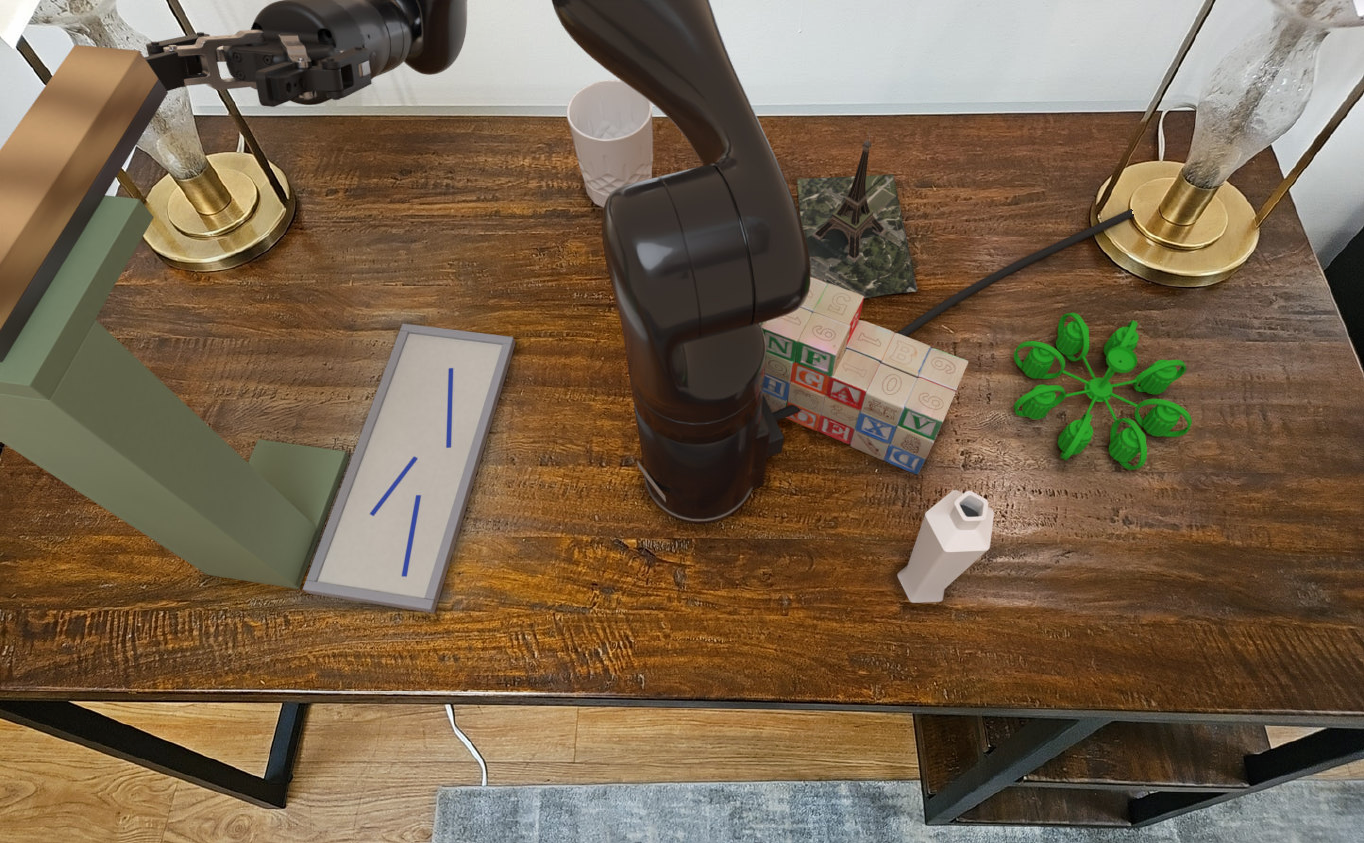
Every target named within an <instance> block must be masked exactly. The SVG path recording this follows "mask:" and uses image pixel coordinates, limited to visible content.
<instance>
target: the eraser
mask: <svg viewBox="0 0 1364 843" xmlns="http://www.w3.org/2000/svg"><path fill="white" fill-rule="evenodd" d="M144 57H145V56H144V55H143V54H142V52H141V51H140V50H138V49H137V50H136V49H127V48H126V49H125V48H116V47H103V46H94V45H82V44H75V45H74V46H73V47H72V48H71V49H70V51H69V53H68V54H67V55H66V56H65V58H64V60H63V61H62V62H61V64H59V67H58V68H57V69H56V71H55V72H54V74H53V75H52V77H51V78H50V79H49V81H48V82H47V83H46V85H44V87H43V89H42V91H41V92H40V93H39V94H38V95H37V97H36V99H35V100H34V102H33V103H32V104H31V106H30V107H29V108H28V110H27V111H26V113H25V114H24V115H23V117H22V119H21V120H20V121H19V123H18V124H17V126H15V128H14V130H12V132H11V134H10V135H9V137H8V138H7V140H6V141H5V142H4V144H3V145H2V147H1V148H0V362H2V361H3V360H4V358H5V356H6V355H7V353H8V352H9V350H10V348H11V347H12V345H13V343H14V342H15V340H16V339H17V337H18V335H19V334H20V332H21V330H22V329H23V327H24V326H25V324H26V322H27V321H28V319H29V317H30V316H31V314H32V313H33V311H34V309H35V308H36V306H37V305H38V303H39V301H40V300H41V298H42V296H43V295H44V293H45V292H46V290H47V288H48V287H49V285H50V283H51V282H52V280H53V279H54V277H55V275H56V274H57V272H58V270H59V269H60V267H61V266H62V264H63V262H64V261H65V259H66V257H67V256H68V254H69V253H70V251H71V249H72V248H73V246H74V244H75V243H76V241H77V240H78V238H79V236H80V235H81V233H82V232H83V230H84V228H85V227H86V225H87V223H88V222H89V220H90V219H91V217H92V215H93V214H94V212H95V210H96V209H97V207H98V206H99V204H100V202H101V201H102V199H103V197H104V196H105V195H107V192H108V191H109V190H110V188H111V186H112V184H113V183H114V181H115V180H116V178H117V176H118V175H119V173H120V172H121V170H122V168H123V166H124V165H125V163H126V162H127V160H128V159H129V157H130V155H131V154H132V152H133V150H134V149H135V147H136V146H137V145H138V142H139V141H140V139H141V138H142V136H143V135H144V133H145V131H146V129H147V128H148V127H149V124H150V123H151V122H152V119H153V118H154V116H155V115H156V113H157V112H158V110H159V108H160V107H161V105H162V104H163V102H164V100H165V99H166V97H167V95H168V94H169V93H168V92H169V91H167V90H166V89H165V87H164V86H163V84H162V83H161V81H160V80H159V79H158V77H157V76H156V74H155V73H154V71H153V70H152V68H151V67H150V65H149V64H148V63H147V61H146V60H145V58H144Z"/></svg>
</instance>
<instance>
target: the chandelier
mask: <svg viewBox="0 0 1364 843" xmlns="http://www.w3.org/2000/svg"><path fill="white" fill-rule="evenodd" d="M1069 317H1071V318H1072V319H1073V320H1072V321H1070V322H1069V323H1068V324H1067V325H1065V323H1066V321H1067V319H1068V318H1069ZM1138 324H1139V322H1138V321H1135V320H1133V319H1131V320H1129V323H1128V324H1127V325H1126V326H1121V327H1119V328H1118V329H1117V330H1115V331H1114V332H1113V333H1112V334H1111V335H1110V337H1109V338H1108V340H1107V341H1106V343H1105V344H1104V346H1103V353H1104V355H1105V362H1106V363H1105V364H1106V365H1107V366H1108V367H1107V370H1106V371H1105V373H1104V376H1103V377H1096V375H1095V373H1094V371H1093V369H1092V368H1091V366H1090V363H1089V361H1088V359H1087V358H1086V357H1087V356H1088V353H1089V350H1090V335H1089V334H1090V328H1089V326H1088V325H1087V324H1086V323H1085V321H1084V319H1083V318H1082V316H1080V315H1079V314H1078V313H1076V312H1067V313H1064V314H1063V315H1062V316H1060V318H1059V321H1058V323H1057V339H1056V341H1055V347H1056V348H1057V349H1056V348H1055V347H1054V346H1051V345H1050V344H1048V343H1045V342H1042V341H1038V340H1028V341H1027V340H1026V341H1024V342H1021V343H1019V344H1018V346H1017V347H1016V349H1015V350H1014V353H1013V359H1014V362H1015V364H1016V366H1017V367H1018V368H1019V369H1020V370H1021V371H1023V373H1024V374H1025V375H1026V377H1029V378H1030V379H1036V380H1037V379H1042V380H1053V379H1056V378H1058V377H1060V376H1061V375H1062V374H1064V375H1065V376H1068V377H1070V378H1072V379H1075V380H1076V381H1079V382H1081V383H1083V384H1084V390H1080V391H1075V392H1070V393H1066V391H1065V389H1064V387H1063V386H1062V385H1058V384H1051V385H1047V384H1038V385H1036V386H1034V387H1033V388H1032V389H1031V390H1030V391H1029V392H1027V393H1025V394H1024V395H1022V396H1021V397H1019V398H1018V399H1017V400H1016V401H1015V402H1014V404H1013V410H1014V413H1015V415H1016V416H1018V417H1022V418H1026V417H1027V418H1028V419H1030V420H1041V419H1043V418H1046V416H1048V414H1049V412H1050V411H1051V410H1052V409H1054V408H1056V407H1058V406H1059V405H1060V404H1061V403H1062V402H1063V401H1064V400H1065V399H1066V398H1069V397H1075V396H1079V395H1083V394H1086V395H1087V397H1088V398H1089V399H1091V402H1090V403H1089V405H1088V408H1087V410H1086V412H1084V414H1083V415H1082V416H1081V418H1080V419H1075V420H1073V421H1072V422H1070V423H1068V424H1067V426H1066V427H1064V429H1063V430H1062V432H1060V434H1059V435H1058V436H1057V438H1058V439H1057V445H1058V448H1059V449H1060V450H1061V453H1060V456H1059V458H1060V459H1062V460H1063V461H1068V460H1069V459H1070V458H1071V456H1074V455H1078V454H1081V453H1082V452H1083V450H1084V449H1085V448H1086V447H1087V446H1088V445H1089V443H1091V441H1092V438H1093V435H1094V429H1093V428H1094V427H1093V426H1092V425H1091V421H1092V419H1093V414H1091V411H1092V409H1093V407H1094V405H1095V403H1096V402H1098V403H1104V404H1105V405H1106V408H1107V410H1108V411H1109V413H1110V415H1111V417H1112V419H1113V421H1114V422H1113V423H1112V424H1111V427H1110V431H1109V440H1110V442H1109V445H1108V453H1109V455H1110V457H1111V458H1113V459H1114V460H1115V461H1117V462H1118V463H1119V464H1120V465H1121V466H1122V468H1124V469H1127V470H1130V471H1133V470H1139V469H1140V468H1142V467H1144V465H1145V464H1146V461H1147V458H1148V446H1147V436H1146V434H1145V433H1144V431H1145V432H1146V433H1147V434H1149V435H1151V436H1153V437H1166V438H1178V437H1181V436H1184V435H1186V434H1187V433H1188V432H1189V431H1190V430H1191V427H1192V424H1193V419H1192V417H1191V414H1190V412H1188V411H1187V409H1185V408H1183V406H1181V405H1179V404H1177V403H1175V402H1173V401H1170V400H1167V399H1162V398H1148V399H1144V400H1142V401H1141V402H1139V403H1138V404H1137V403H1135V402H1133V401H1132V400H1131V401H1130V400H1128V399H1126V398H1124V397H1122V396H1120V395H1118V394H1116V393H1113V388H1117V387H1121V386H1127V385H1131V384H1132V387H1133V388H1134V390H1135V391H1136V392H1138V393H1147V394H1149V395H1154V396H1156V395H1160V394H1162V393H1164V392H1165V391H1166V389H1168V387H1169V386H1171V384H1172V383H1174V382H1175V381H1177V380H1179V379H1180V378H1181V377H1183V375H1184V374H1185V373H1186V371H1187V366H1186V364H1185V362H1184V360H1181V359H1171V360H1167V359H1158V360H1156V361H1155V362H1154V363H1151V364H1150V365H1149V367H1148V368H1146V369H1144V370H1143V371H1141V372H1140V373H1139V374H1137V376H1135V378H1134V379H1131V380H1127V381H1123V382H1117V383H1113V384H1112V383H1111V382H1110V380H1111V379H1112V378H1113V376H1114V375H1115V374H1116V373H1120V374H1128V373H1130V372H1132V371H1133V370H1134V369H1135V368H1136V366H1137V365H1138V357H1137V354H1136V353H1135V352H1134V350H1135V349H1136V347H1137V345H1138V342H1139V339H1140V337H1139V333H1138V331H1136V330H1137V328H1138ZM1027 347H1033V348H1031V349H1030V350H1029V352H1028V353H1027V355H1026V356H1025V358H1024V360H1023V361H1022V360H1021V358H1020V357H1019V351H1020V350H1021V349H1023V348H1027ZM1080 351H1081V353H1080V354H1079V356H1078V357H1076V356H1074V355H1076V354H1078V353H1079V352H1080ZM1064 356H1065V358H1066V359H1068V360H1069V361H1071V362H1079V361H1083V362H1084V364H1085V366H1086V369H1087V370H1088V373H1089V374H1090V376H1091V379H1090V380H1085V379H1084V378H1082V377H1079V376H1077V375H1075V374H1072V373H1070V372H1068V371H1067V370H1064V369H1066V360H1065V358H1064ZM1055 358H1056V360H1057V361H1058V362H1059V364H1060V370H1059V371H1056V372H1053V373H1048V372H1049V370H1051V367H1052V366H1053V363H1054V362H1055ZM1177 367H1180V368H1179V369H1177ZM1056 392H1060V394H1059V395H1058V396H1057V395H1056ZM1112 397H1113V398H1115V399H1117V400H1120V401H1121V402H1124V403H1126V404H1128V405H1130V406H1132V407H1135V410H1134V414H1133V415H1134V419H1135V420H1133V419H1131V418H1129V417H1123V418H1118V417H1117V416H1116V414H1115V412H1114V410H1113V408H1112V405H1111V404H1110V403H1109V400H1110V399H1111V398H1112ZM1151 405H1153V407H1152V408H1151V409H1150V410H1149V411H1148V412H1147V414H1145V416H1144V418H1142V416H1141V414H1140V409H1141V408H1143V407H1146V406H1151ZM1021 406H1022V408H1021V409H1022V410H1019V409H1020V407H1021ZM1181 416H1182V417H1183V418H1184V420H1185V421H1186V424H1187V426H1186V427H1185V428H1182V429H1181V430H1174V431H1171V430H1173V429H1174V428H1175V426H1177V424H1178V422H1179V420H1180V418H1181ZM1136 422H1137V423H1136ZM1121 423H1125V424H1127V425H1128V426H1129V427H1126V428H1125V429H1122V430H1120V432H1118V428H1119V426H1120V424H1121ZM1142 428H1143V429H1144V431H1143V430H1142ZM1138 455H1139V459H1138V462H1137V464H1136V465H1132V464H1130V462H1131V461H1132V460H1133V459H1135V458H1136V457H1137V456H1138Z"/></svg>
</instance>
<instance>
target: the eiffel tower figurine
mask: <svg viewBox="0 0 1364 843" xmlns="http://www.w3.org/2000/svg"><path fill="white" fill-rule="evenodd" d="M870 133H871V131H869V132H868V136H867V139H866V140H865V141H864V142H862V145H861V147H862V150H861V155H860V159H859V162H858V165H857V168H856V172H855V174H854V176H853V175H852V176H833V177H832V176H831V177H810V178H809V177H808V178H797V179H796V184H797V196H798V197H797V198H798V207H799V217H800V220H801V223H802V226H803V230H804V233H805V237H806V242H807V246H808V252H809V258H810V266H811V277H812V278H815V279H818V280H821V281H823V282H825V283H827V284H833V285H835V286H838V287H841V288H843V289H846V290H849V291H852V292H854V293H857V294H860V295H862V296H864V299H870V298H874V297H881V296H886V295H893V294H903V293H905V294H906V293H913V292H918V290H919V289H918V285H917V281H916V280H917V279H916V276H915V271H914V267H913V261H912V257H911V251H910V247H909V242H908V238H907V233H906V228H905V224H904V220H903V214H902V210H901V205H900V202H899V200H900V199H899V196H898V191H897V190H898V189H897V186H896V181H895V177H894V174H877V175H875V174H874V175H867V172H868V163H869V154H870V153H869V152H870V148H872V142H871V141H870V140H869V139H870Z"/></svg>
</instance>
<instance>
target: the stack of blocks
mask: <svg viewBox="0 0 1364 843" xmlns="http://www.w3.org/2000/svg"><path fill="white" fill-rule="evenodd" d="M864 301H865V298H864V296H862V295H860V294H857V293H854V292H852V291H849V290H846V289H843V288H841V287H838V286H835V285H833V284H827V283H825V282H823V281H821V280H818V279H815V278H812V277H810V289H809V293H808V296H807V298H806V300H805V302H804V303H803V305H802V306H801V307H800V308H799V309H797V310H796V311H794V312H792V313H790V314H788V315H785V316H782V317H779V318H776V319H773V320H769V321H766V322H763V323H759V324H760V326H761V328H762V330H763V333H764V336H765V340H766V350H767V354H766V367H765V376H764V386H763V395H764V397H765V399H766V401H767V403H768V405H769V407H770V409H771V411H772V413H773V412H775V411H778V410H780V409H783V408H785V407H787V406H790V405H795V406H797V407H798V408H800V409H801V411H800V412H798V413H795V414H793V415H791V416H788V417H786V418H785V419H787V420H789V421H791V422H795V424H799V425H800V426H803V427H806V428H808V429H810V430H812V431H814V432H818V433H821V434H823V435H825V436H828V437H830V438H832V439H835V440H837V441H839V442H842V443H844V444H847V445H850V447H851V448H853V449H855V450H858V451H860V452H862V453H865V454H867V455H869V456H871V457H874V458H875V459H878V460H881V461H884V462H886V463H888V464H890V465H892V466H895V467H897V468H900V469H902V470H904V471H907V472H908V473H911V474H914V475H917V476H918V475H919V474H920V472H921V470H922V468H923V467H924V464H925V462H926V459H927V458H928V457H929V455H930V453H931V450H932V448H933V446H934V444H935V442H936V439H937V437H938V434H939V432H940V431H941V428H942V426H943V424H944V421H945V420H946V417H947V414H948V412H949V409H950V407H951V404H952V402H953V401H954V397H955V395H956V392H957V389H958V387H959V385H960V383H961V381H962V378H963V376H964V373H965V372H966V369H967V367H968V364H969V360H967V359H965V358H963V357H959V356H957V355H954V354H952V353H949V352H946V351H944V350H941V349H938V348H935V347H932V346H931V345H929V344H927V343H924V342H921V341H919V340H916V339H915V338H914V339H913V338H911V337H908V336H907V337H906V336H903V335H901V334H898V332H895V331H893V330H891V329H889V328H885V327H883V326H880V325H877V324H874V323H871V322H869V321H866V320H860V318H861V314H862V309H863V305H864Z"/></svg>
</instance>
